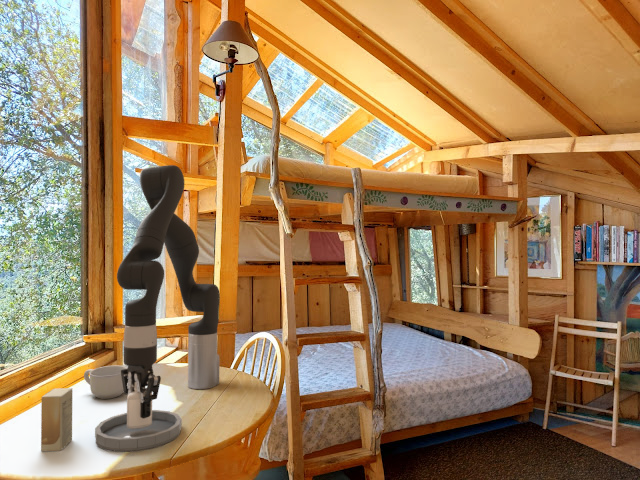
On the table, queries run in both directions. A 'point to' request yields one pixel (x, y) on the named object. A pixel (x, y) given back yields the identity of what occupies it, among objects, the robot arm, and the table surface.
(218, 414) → the table surface
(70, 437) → the skincare box
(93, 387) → the teacup
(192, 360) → the robot arm
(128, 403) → the eye dropper bottle
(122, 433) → the round tray
